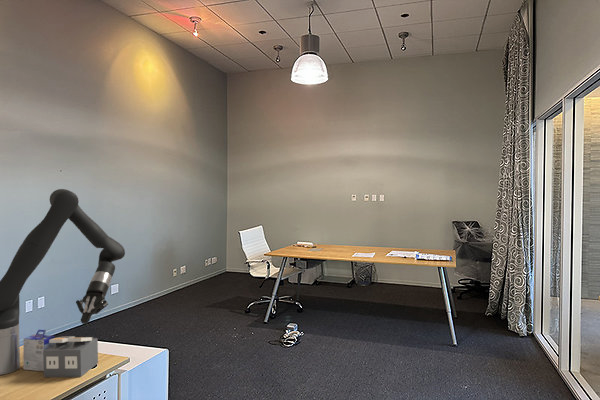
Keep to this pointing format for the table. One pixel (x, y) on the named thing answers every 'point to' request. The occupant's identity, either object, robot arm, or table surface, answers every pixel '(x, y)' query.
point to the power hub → (70, 358)
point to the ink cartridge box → (35, 350)
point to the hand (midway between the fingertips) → (83, 322)
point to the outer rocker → (79, 339)
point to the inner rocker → (60, 339)
